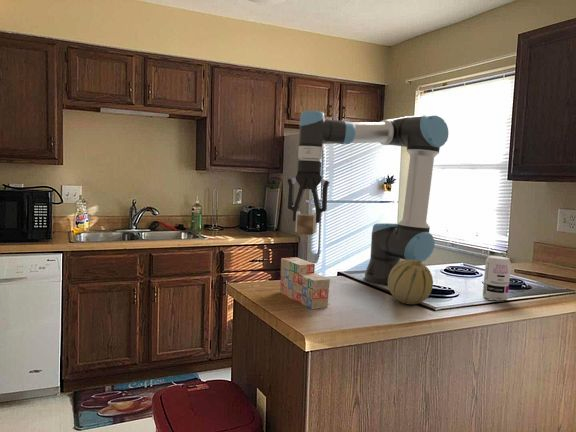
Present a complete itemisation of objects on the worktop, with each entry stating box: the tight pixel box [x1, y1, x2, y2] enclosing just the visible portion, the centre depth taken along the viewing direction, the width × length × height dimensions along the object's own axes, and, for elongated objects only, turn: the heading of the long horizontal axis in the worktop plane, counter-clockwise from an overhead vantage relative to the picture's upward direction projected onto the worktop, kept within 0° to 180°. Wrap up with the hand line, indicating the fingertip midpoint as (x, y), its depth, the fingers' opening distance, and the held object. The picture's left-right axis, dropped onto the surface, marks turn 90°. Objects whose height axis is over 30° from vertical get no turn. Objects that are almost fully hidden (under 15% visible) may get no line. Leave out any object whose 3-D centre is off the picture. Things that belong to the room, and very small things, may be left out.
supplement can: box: [482, 255, 512, 301], centre depth 172 cm, size 8×8×15 cm
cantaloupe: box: [387, 259, 434, 305], centre depth 160 cm, size 15×15×15 cm
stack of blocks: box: [279, 256, 331, 310], centre depth 158 cm, size 21×6×12 cm, turn 29°
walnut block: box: [296, 213, 314, 236], centre depth 156 cm, size 5×5×6 cm
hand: (305, 232), depth 156 cm, fingers closed on walnut block, 5 cm apart
